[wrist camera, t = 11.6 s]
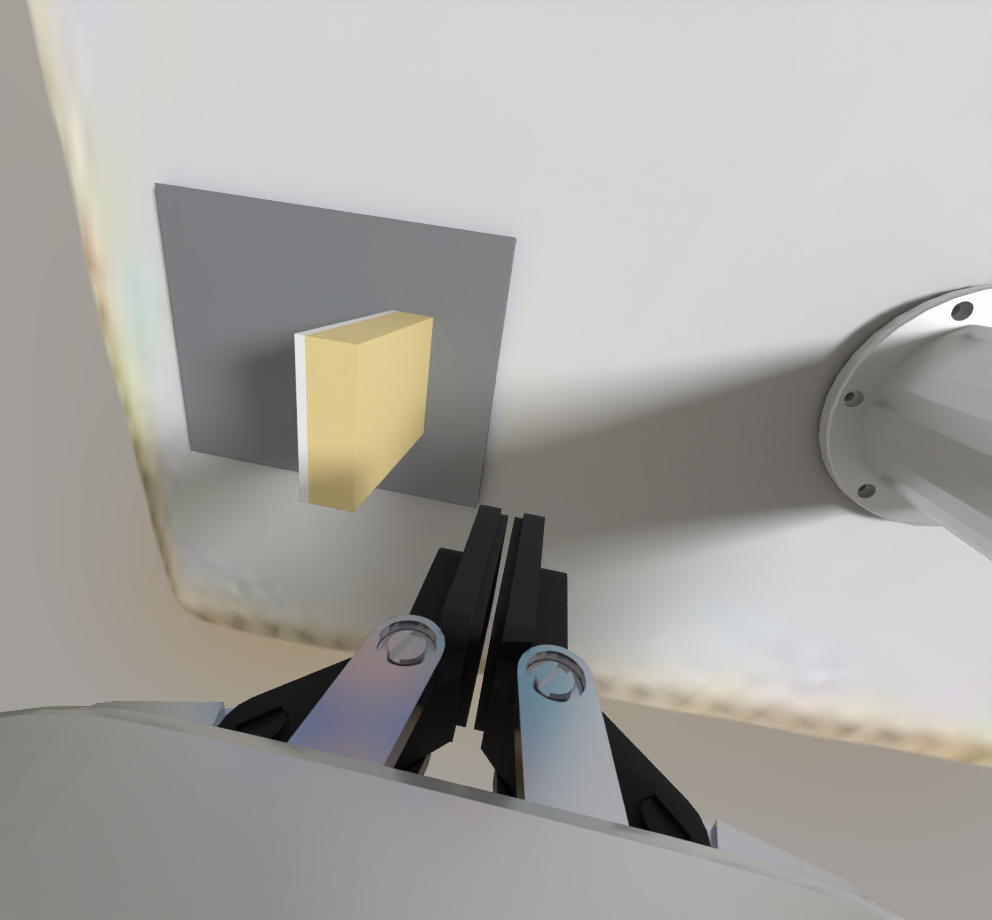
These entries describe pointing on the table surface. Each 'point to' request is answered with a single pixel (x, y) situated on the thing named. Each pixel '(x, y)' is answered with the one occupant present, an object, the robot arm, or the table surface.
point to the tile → (359, 403)
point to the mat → (328, 323)
